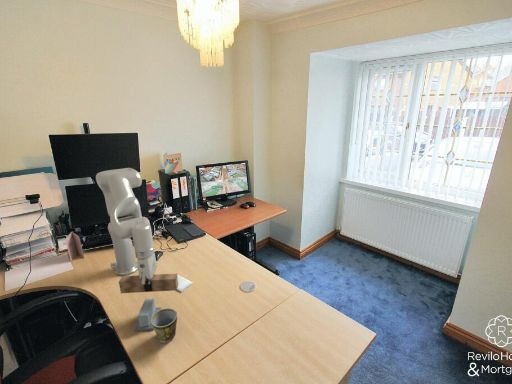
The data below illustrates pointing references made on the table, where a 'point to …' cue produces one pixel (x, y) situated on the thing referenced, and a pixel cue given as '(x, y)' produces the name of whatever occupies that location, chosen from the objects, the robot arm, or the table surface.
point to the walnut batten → (158, 282)
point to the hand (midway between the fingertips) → (150, 286)
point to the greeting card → (74, 245)
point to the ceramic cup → (165, 324)
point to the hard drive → (183, 284)
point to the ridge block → (146, 315)
